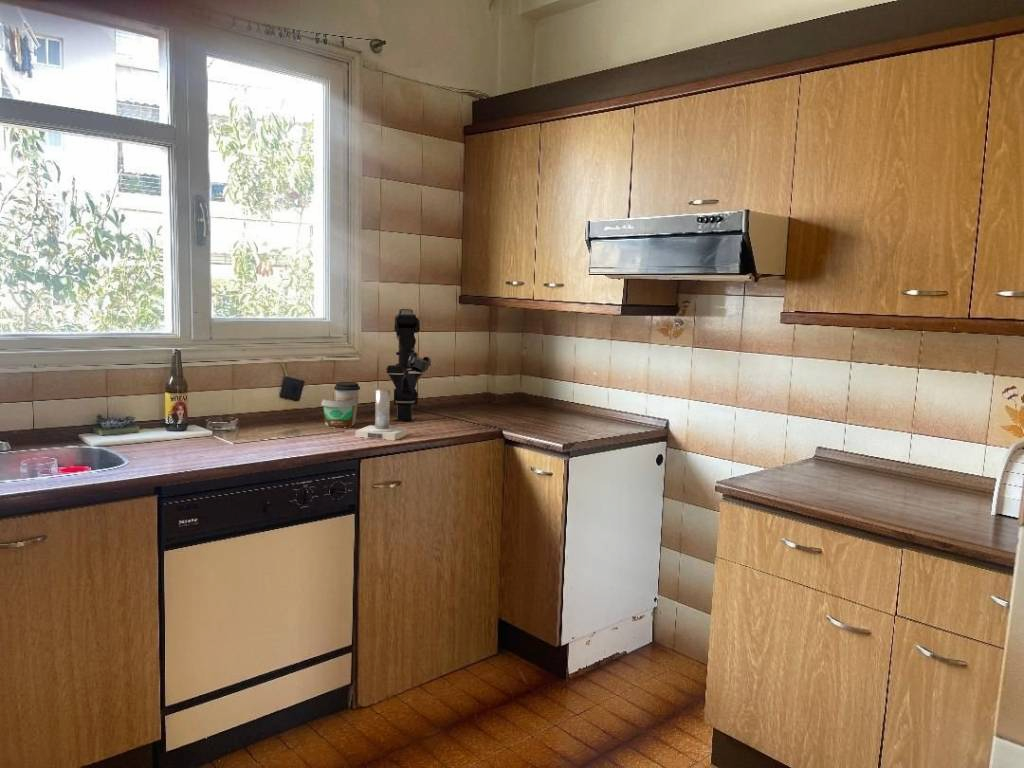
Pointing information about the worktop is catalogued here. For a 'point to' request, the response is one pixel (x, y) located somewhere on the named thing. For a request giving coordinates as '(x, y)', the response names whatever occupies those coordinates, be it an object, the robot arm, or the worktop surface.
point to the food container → (338, 413)
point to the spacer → (382, 408)
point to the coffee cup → (347, 393)
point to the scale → (381, 433)
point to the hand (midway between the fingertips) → (406, 393)
